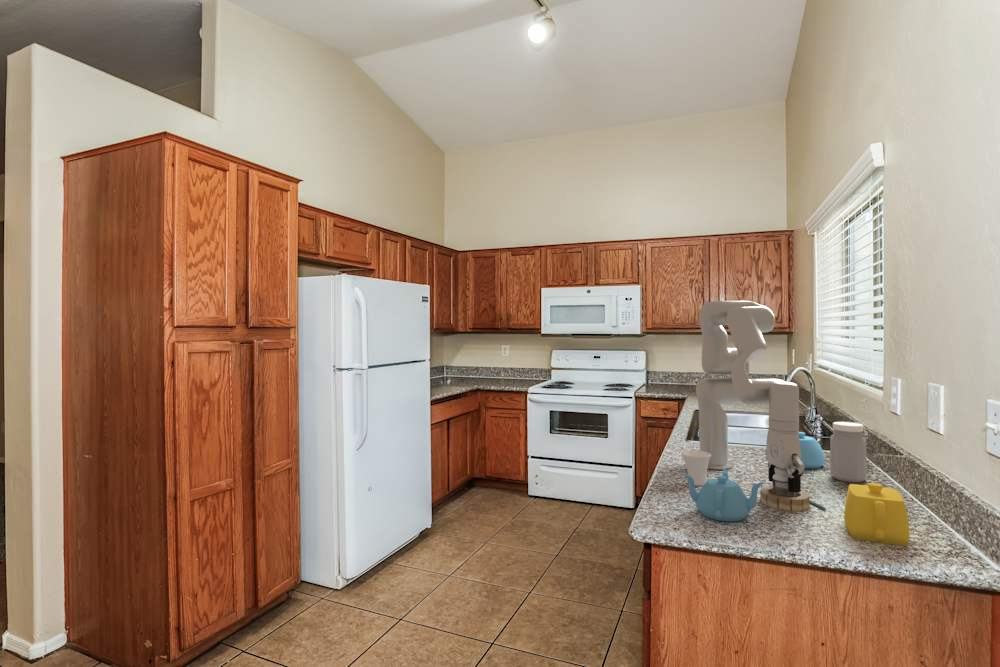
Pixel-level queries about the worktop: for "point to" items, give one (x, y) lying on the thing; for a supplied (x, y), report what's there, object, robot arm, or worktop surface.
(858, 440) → the jar
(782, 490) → the pill bottle
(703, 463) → the cup
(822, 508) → the green stick
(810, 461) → the sugar bowl
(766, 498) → the segmented tan ring
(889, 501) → the teapot
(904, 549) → the worktop surface
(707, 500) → the teapot
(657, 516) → the worktop surface
